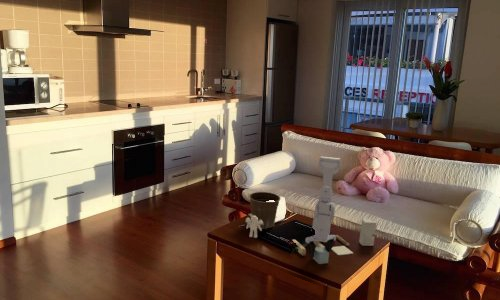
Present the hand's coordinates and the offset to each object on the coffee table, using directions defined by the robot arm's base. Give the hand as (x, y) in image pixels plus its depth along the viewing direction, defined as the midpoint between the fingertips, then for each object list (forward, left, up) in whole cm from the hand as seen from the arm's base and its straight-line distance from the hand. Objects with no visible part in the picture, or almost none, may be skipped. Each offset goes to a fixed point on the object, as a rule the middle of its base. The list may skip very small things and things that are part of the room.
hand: (319, 256), depth 200 cm
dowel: (-14, +21, -2) cm, 25 cm away
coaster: (-5, +15, -2) cm, 16 cm away
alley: (-11, 0, -2) cm, 11 cm away
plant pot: (-42, -10, -2) cm, 43 cm away
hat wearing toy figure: (-30, -20, -2) cm, 36 cm away
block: (+1, 0, -2) cm, 2 cm away
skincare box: (-9, +32, -2) cm, 33 cm away
